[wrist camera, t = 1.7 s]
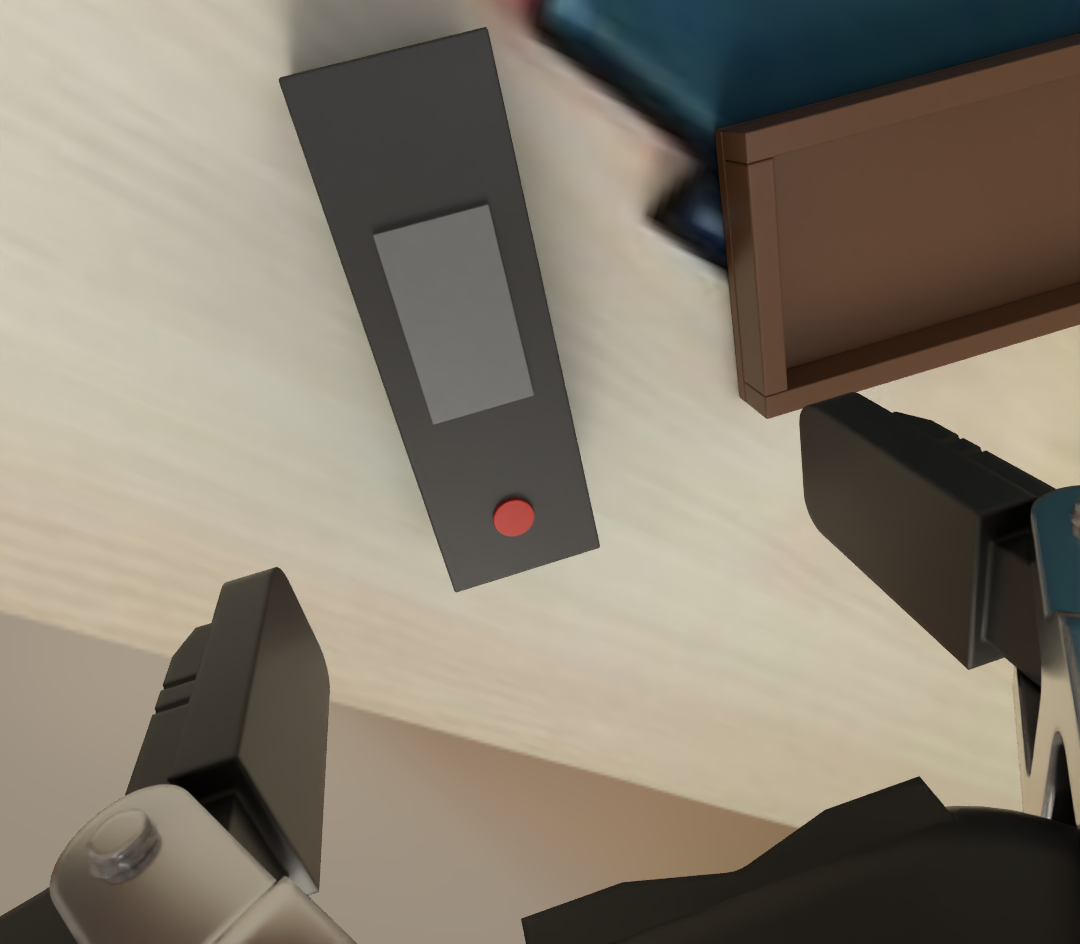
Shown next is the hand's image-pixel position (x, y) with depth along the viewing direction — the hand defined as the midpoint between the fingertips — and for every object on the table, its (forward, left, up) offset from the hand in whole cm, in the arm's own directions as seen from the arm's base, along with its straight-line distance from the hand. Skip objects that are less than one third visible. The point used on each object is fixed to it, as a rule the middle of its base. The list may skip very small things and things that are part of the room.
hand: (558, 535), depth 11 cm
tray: (+1, +18, -13) cm, 22 cm away
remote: (0, 0, -13) cm, 13 cm away
